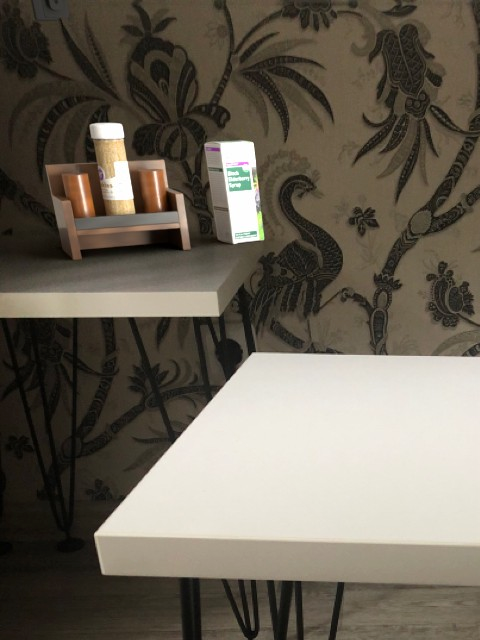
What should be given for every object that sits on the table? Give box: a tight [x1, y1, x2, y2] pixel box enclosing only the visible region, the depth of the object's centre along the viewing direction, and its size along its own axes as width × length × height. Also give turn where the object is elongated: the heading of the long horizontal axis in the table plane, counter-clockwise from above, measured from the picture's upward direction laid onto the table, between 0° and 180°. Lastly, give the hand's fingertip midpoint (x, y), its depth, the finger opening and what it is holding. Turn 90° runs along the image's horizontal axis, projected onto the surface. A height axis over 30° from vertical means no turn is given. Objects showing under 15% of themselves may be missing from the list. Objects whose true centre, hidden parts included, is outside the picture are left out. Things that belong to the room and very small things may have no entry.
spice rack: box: [44, 159, 192, 261], centre depth 139 cm, size 17×10×12 cm, turn 119°
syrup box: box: [203, 140, 265, 245], centre depth 145 cm, size 6×6×14 cm
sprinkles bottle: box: [89, 122, 135, 216], centre depth 136 cm, size 5×5×14 cm
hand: (52, 19), depth 127 cm, fingers open, 9 cm apart
